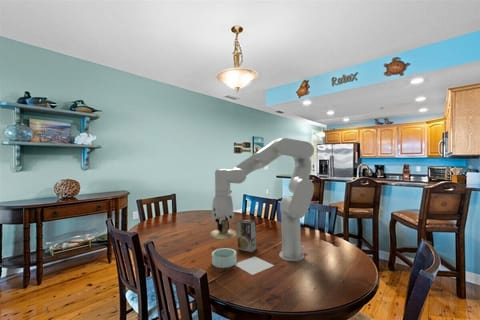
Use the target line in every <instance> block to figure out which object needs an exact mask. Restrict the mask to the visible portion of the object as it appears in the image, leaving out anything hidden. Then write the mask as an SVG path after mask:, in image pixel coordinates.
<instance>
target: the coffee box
mask: <svg viewBox="0 0 480 320" xmlns="http://www.w3.org/2000/svg"><path fill="white" fill-rule="evenodd" d="M256 226H257V221H256V220H252V219H251V220H250V219H241V220H238V221H237V228H236V229H237V249H238V250H240V251H245V252H248V253H249V252H250V253H253V252H254V251H255V250H256V249H257V227H256Z"/></svg>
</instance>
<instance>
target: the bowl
mask: <svg viewBox="0 0 480 320" xmlns="http://www.w3.org/2000/svg"><path fill="white" fill-rule="evenodd" d="M236 263H238V262H237V251H236V250H235V249H233V248H228V247H227V248H226V247H225V248H224V247H223V248H222V247H221V248H217V249H214V250H213V251H212V252H211V265H212V266H214V267H216V268H220V269H221V268H222V269H223V268H224V269H225V268H231V267H232V266H233V267H234V266H236V265H235V264H236Z"/></svg>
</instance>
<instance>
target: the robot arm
mask: <svg viewBox="0 0 480 320" xmlns="http://www.w3.org/2000/svg"><path fill="white" fill-rule="evenodd" d="M314 153H315V148H314V145H313V144H312V143H310V142H308V141H305V140H299V139H294V138H293V139H292V138H287V137H281V138H276V139H274V140H272V141H271V142H270V143H269V144H266V145H265V146H264V147H262V148H261V149H260V150H258V151H257V152H255V153H254V154H252V155H250V156H249V157H247V158H246V159H245V160H243V161H241V162H240V163H239V164H236V165H235V166H234V167H233V168H231V169H228V168H218V169H216V170H215V171H214V194H215V195H214V196H213V199H212V205H211V206H212V207H211V218H210V219H211V220H212V221H215V222H216V224H217V230H218V231H220V232H222V223H221V221H222V220H223V219H222V218H224V220H227V221H228V230H229V229H230V222H231V220H232V218H233V217H234V216H235V212H234V204H233V197H232V195H231V194H232V193H233V190H231V184H243V183H245V181H246V179H247V176H248V175H250V174H251V173H253V172H255V171H257V170H260V169H264V168H265V167H267V166H268V165H269V164H271V163H273V162H274V161H275V160H277V159H278V158H280V157H281V156H287V157H292V158H293V161H294V168H293V170H292V171H293V172H292V175H291V177H290V180H289V183H288V191H289V192H291V194H292V195H287V196H284V197H283V198H282V199H281V200H280V204H279V209H280V217H281V251H280V252H279V254H278V255H279V258H281V259H282V260H284V261H289V262H299V261H302V260H303V259H304V257H305V255H304V253H303V251H304V250H306V249H307V248H306V246H305V245H301V242H302V241H301V219H302V218H303V217H305V215H306V214H308V213H307V212H308V211H309V207H310V205H311V201H312V199H313V196H314V192H315V187H314V186H315V185H314V183H313V182H312V180H310V175H311V171H312V161H311V157H312V156H313V155H314Z"/></svg>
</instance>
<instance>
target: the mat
mask: <svg viewBox="0 0 480 320" xmlns="http://www.w3.org/2000/svg"><path fill="white" fill-rule="evenodd" d="M234 266H236V267H238V268H239V269H241V270H242V271H245V272H246V273H248V274H250V275H251V276H252V275H255V274H258V273H261V272H264V271H266V270H268V269H270V268H272V267H274V266H275V265H274V264H272V263H270V262H268V261H266V260H263V259H262V258H260V257H257V256H252V257H249V258H247V259H244V260H241V261H238V262H237V263H236V264H235V265H234Z"/></svg>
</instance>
